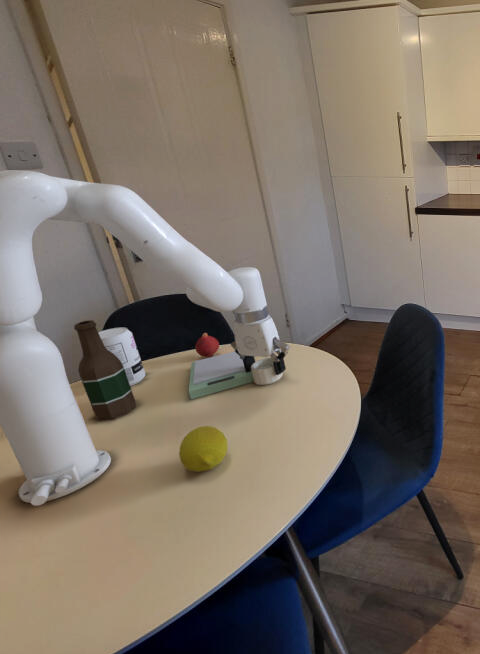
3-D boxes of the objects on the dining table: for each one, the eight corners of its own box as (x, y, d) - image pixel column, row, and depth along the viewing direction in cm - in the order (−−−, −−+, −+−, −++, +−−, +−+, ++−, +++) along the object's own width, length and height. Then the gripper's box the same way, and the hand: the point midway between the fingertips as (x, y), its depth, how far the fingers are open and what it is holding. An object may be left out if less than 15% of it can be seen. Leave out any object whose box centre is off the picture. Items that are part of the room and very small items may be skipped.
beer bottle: (86, 418, 100) (50, 328, 92) (122, 399, 107) (91, 314, 99) (110, 423, 98) (75, 331, 90) (145, 403, 105) (115, 317, 98)
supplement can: (99, 387, 112) (80, 338, 108) (133, 372, 120) (117, 325, 115) (120, 392, 110) (101, 341, 105) (153, 376, 117) (137, 328, 113)
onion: (209, 362, 124) (203, 338, 122) (193, 361, 125) (187, 337, 123) (226, 353, 130) (220, 330, 127) (210, 351, 131) (204, 328, 128)
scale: (253, 381, 114) (251, 372, 113) (190, 399, 106) (187, 389, 105) (249, 355, 128) (247, 346, 127) (193, 369, 121) (190, 360, 120)
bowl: (284, 380, 114) (280, 364, 112) (255, 389, 110) (251, 372, 109) (280, 370, 119) (277, 354, 118) (253, 377, 116) (249, 362, 114)
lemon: (231, 472, 83) (222, 439, 80) (182, 489, 79) (171, 455, 76) (231, 440, 91) (222, 410, 89) (187, 455, 87) (177, 423, 85)
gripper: (211, 318, 107) (227, 376, 112) (271, 322, 104) (284, 381, 109) (234, 306, 114) (249, 361, 119) (291, 310, 111) (302, 366, 116)
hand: (266, 371), depth 114 cm, fingers open, 8 cm apart
